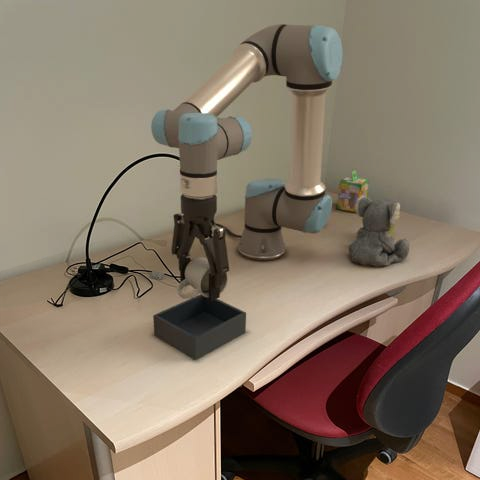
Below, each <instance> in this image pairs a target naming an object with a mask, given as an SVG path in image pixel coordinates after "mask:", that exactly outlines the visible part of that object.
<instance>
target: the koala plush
mask: <svg viewBox="0 0 480 480" xmlns="http://www.w3.org/2000/svg"><path fill="white" fill-rule="evenodd" d="M356 202H357V204H356V205H355V207H356V208H355V211H356V212H355V214H357V216H358V217H360V218H362V220H361V221H362V227H360V228H359V229H358V231H357V232H356V236H355V238H356V240H353V241H352V242H351V243H350V244H349V246H348V249H347V250H348V253H349V255H350V256H351V261H353V262H354V263H356V264H359V265H361V266H368V265H370V266H373V267H387V266H389V265H390V264H393V263H394V264H395V263H399V262H402V261H404V260H405V259H407V257H408V256H409V253H410V241H409V240H408V239H407V238H402V239H401V238H400V239H399V240H397V241H396V242H395V243H394V241H393V239H392V236H391V237H389V235H388V231H389V230H390V228H391V227H392V226H394V224H395V225H396V223H398V220H399V218H398V214H399V215H400V214H401V212H400V209H401V203H399V202H393V203H389V202H387V200H384V199H376V200H374V201H372V200H371V199H370V198H369V197H368V196H367V197H365V196H363V197H359V198H358V199H357V201H356ZM396 220H397V221H396ZM395 222H396V223H395ZM394 227H395V226H394Z"/></svg>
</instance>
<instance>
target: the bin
mask: <svg viewBox="0 0 480 480" xmlns="http://www.w3.org/2000/svg"><path fill="white" fill-rule="evenodd" d="M152 318H153V334H154V337H156V338H158V339H160V341H162V342H164V343H166V344H168V345H169V346H171V347H172V348H175V349H176V350H177V351H180V352H181V353H183V354H184V355H185V356H188V357H190V358H191V359H193V360H194V361H197V360H199V359H201V358H203V357H205V356H206V355H208V354H210V353H211V352H214V351H215V350H217V349H219V348H220V347H222V346H225V345H226V344H228V343H230V342H232V341H233V340H235V339H237V338H239V337H241V336H242V335H245V334H246V333H247V331H246V330H247V329H246V328H247V312H246V311H243V310H242V309H239V308H237V307H235V306H233V305H231V304H229V303H227V302H225V301H223V300H221V299H220V298H217V299H215V300H213V301H209V298H207V297H204V296H203V295H201V294H200V293H199V294H198V295H196V296H194V297H192V298H189V299H185V301H182V302H180V303H178V304H175V305H173V306H171V307H169V308H167V309H164V310H161V311H160V312H157V313H155V314H153V315H152Z"/></svg>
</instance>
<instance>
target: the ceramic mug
mask: <svg viewBox="0 0 480 480" xmlns="http://www.w3.org/2000/svg"><path fill="white" fill-rule="evenodd" d="M216 268H217V267H216ZM209 273H211V269H210V266H209V263H208V260H207V257H201V256H198V257H194V258H191V261H190V262H189V263H188V264H187V266H186V269H185V278H186V279H185V280H183V281H182V282H181V283H179V284H178V285H177V287H176V292H177V293H178V296H179V297H180V298H181V299H184V300H189V299H191V298H193V297H195V296H198V295H200V294H201V295H203V296H204V297H207V298H209ZM228 282H229V274H228V272H226V273H224V274H222V285H221V286H220V295H222V293H223V292H224V291H225V289H226V288H227V285H228ZM187 284H189V285H187ZM186 285H187V286H191V288H193V290H191V291H187V292H183V291H182V290H183V289H185V287H187V286H186Z"/></svg>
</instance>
